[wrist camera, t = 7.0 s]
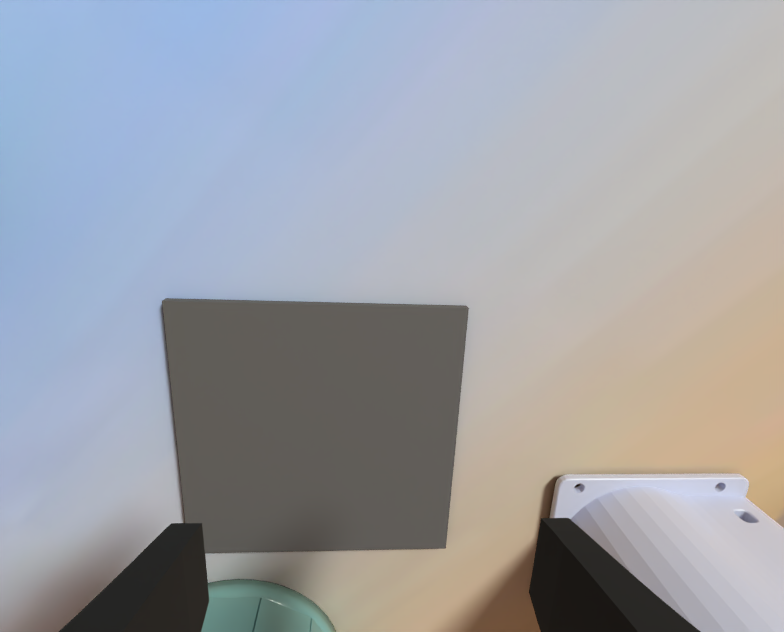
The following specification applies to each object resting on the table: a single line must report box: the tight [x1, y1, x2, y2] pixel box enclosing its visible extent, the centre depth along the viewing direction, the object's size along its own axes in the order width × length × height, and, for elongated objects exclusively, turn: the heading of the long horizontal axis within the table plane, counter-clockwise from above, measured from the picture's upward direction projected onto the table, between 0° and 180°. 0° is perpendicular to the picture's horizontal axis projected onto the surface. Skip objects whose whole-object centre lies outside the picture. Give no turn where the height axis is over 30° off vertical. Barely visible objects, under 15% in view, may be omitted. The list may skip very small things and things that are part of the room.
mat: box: [162, 298, 469, 553], centre depth 19 cm, size 12×12×1 cm
